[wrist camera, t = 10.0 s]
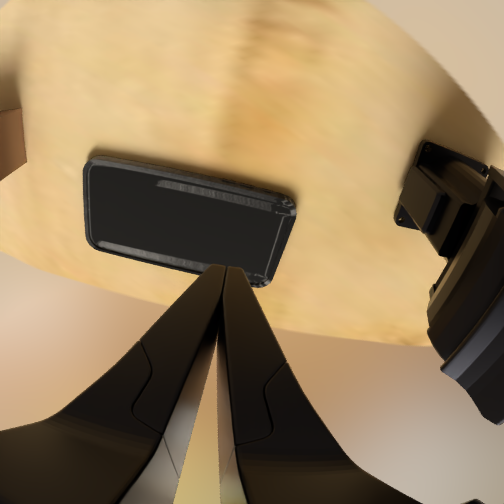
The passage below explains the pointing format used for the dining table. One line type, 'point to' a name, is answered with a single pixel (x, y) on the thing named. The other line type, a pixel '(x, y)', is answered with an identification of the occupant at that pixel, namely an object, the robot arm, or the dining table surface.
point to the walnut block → (11, 142)
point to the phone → (184, 218)
